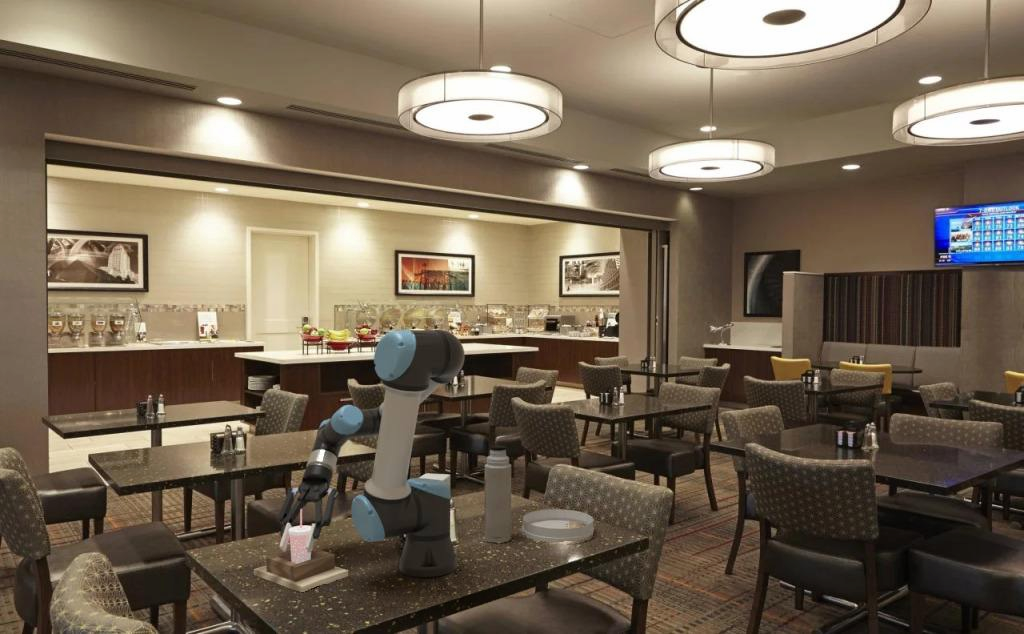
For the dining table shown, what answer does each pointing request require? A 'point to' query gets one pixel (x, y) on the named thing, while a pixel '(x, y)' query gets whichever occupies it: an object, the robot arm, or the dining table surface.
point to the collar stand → (301, 570)
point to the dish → (556, 525)
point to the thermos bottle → (497, 495)
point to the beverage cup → (299, 542)
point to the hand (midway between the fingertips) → (295, 549)
